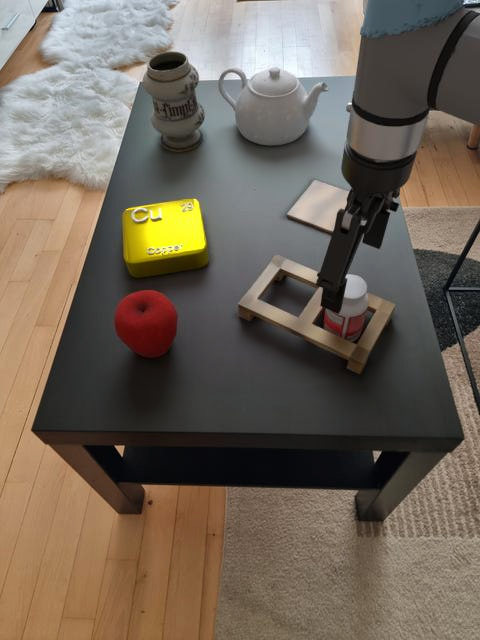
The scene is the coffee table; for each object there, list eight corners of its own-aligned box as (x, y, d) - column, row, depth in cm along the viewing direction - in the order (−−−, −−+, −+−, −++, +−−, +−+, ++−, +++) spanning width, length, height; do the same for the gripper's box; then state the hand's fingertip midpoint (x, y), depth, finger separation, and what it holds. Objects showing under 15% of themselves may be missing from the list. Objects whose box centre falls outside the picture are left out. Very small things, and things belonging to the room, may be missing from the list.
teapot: (289, 97, 119) (291, 39, 108) (325, 136, 109) (331, 76, 98) (220, 117, 116) (214, 60, 105) (251, 159, 106) (248, 100, 95)
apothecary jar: (152, 129, 115) (135, 51, 100) (202, 120, 116) (192, 41, 101) (159, 159, 108) (141, 80, 93) (211, 149, 109) (202, 69, 94)
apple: (191, 358, 77) (181, 318, 68) (133, 378, 75) (115, 340, 66) (174, 312, 82) (163, 270, 74) (120, 330, 81) (101, 289, 72)
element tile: (129, 280, 87) (122, 262, 83) (127, 224, 96) (120, 205, 92) (210, 267, 88) (208, 249, 84) (201, 212, 97) (198, 193, 93)
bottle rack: (391, 317, 79) (396, 304, 77) (359, 374, 73) (363, 363, 71) (276, 267, 87) (276, 254, 84) (239, 316, 81) (237, 303, 78)
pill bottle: (361, 316, 80) (373, 272, 71) (360, 347, 76) (372, 305, 67) (324, 311, 81) (331, 268, 72) (321, 342, 77) (327, 300, 68)
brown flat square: (368, 200, 96) (368, 198, 96) (342, 237, 91) (342, 235, 90) (314, 181, 100) (314, 179, 100) (286, 216, 95) (286, 214, 94)
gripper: (393, 78, 57) (363, 212, 75) (292, 201, 46) (285, 326, 63) (455, 94, 55) (410, 229, 72) (365, 228, 43) (337, 351, 61)
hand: (351, 274), depth 68 cm, fingers open, 13 cm apart
